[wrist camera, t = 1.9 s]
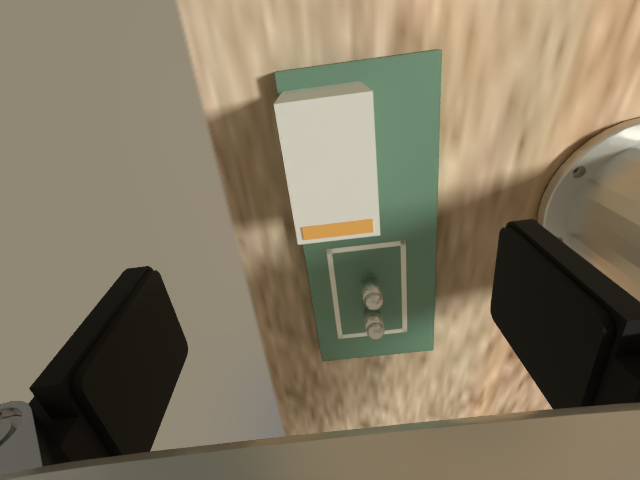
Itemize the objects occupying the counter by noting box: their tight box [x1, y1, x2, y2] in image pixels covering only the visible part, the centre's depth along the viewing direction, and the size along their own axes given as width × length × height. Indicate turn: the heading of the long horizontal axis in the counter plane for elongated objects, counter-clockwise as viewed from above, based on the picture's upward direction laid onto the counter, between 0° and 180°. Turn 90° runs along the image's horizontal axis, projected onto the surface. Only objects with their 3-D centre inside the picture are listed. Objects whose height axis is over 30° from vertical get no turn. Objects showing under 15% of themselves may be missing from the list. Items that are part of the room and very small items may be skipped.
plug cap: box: [274, 81, 380, 245], centre depth 22 cm, size 8×5×6 cm, turn 7°
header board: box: [274, 50, 442, 361], centre depth 28 cm, size 24×10×1 cm, turn 7°
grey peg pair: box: [360, 275, 385, 339], centre depth 28 cm, size 4×1×4 cm, turn 7°
